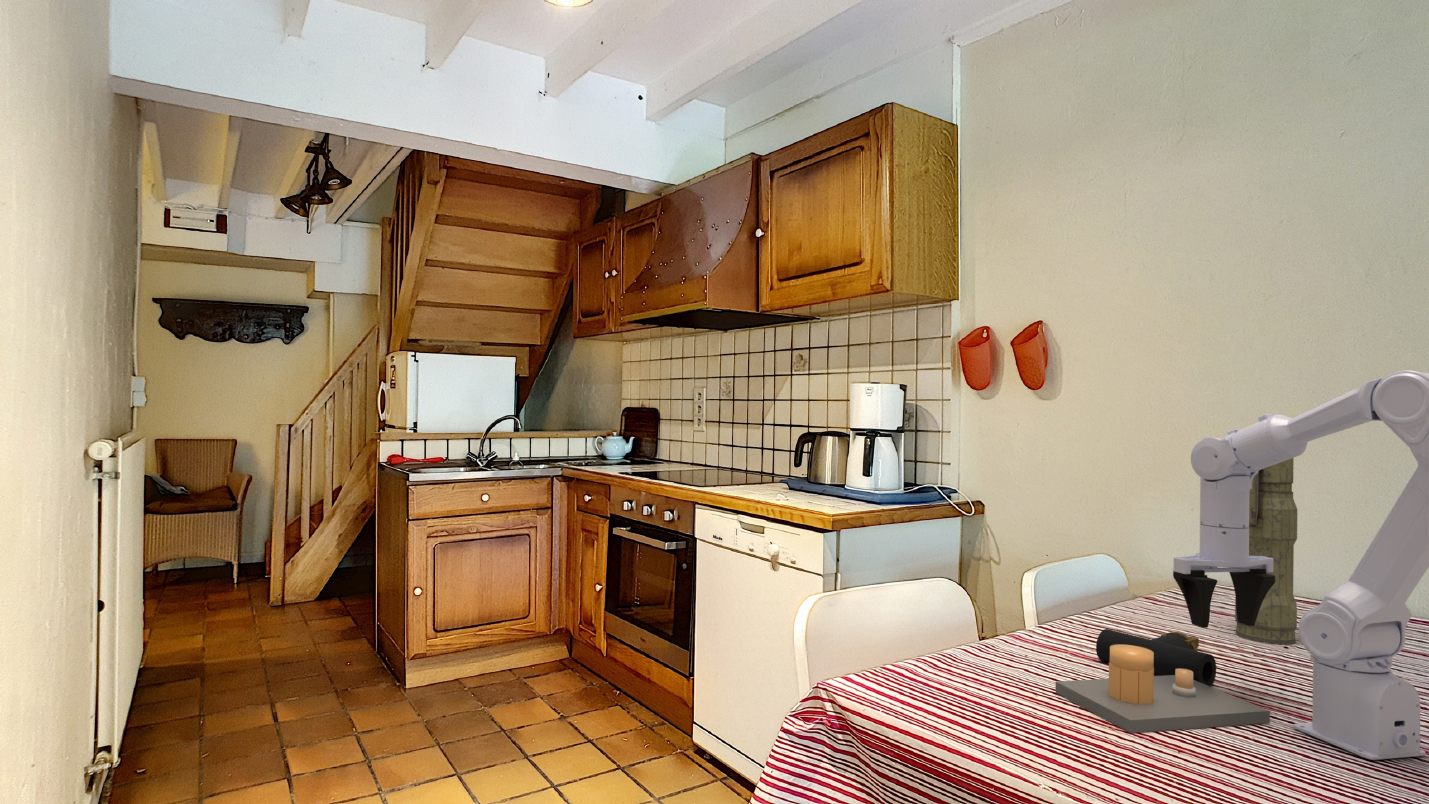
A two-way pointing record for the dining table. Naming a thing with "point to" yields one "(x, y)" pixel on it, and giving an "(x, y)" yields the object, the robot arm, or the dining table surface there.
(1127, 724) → the board
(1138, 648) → the wire cap
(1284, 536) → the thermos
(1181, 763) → the dining table surface
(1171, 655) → the pipe connector
